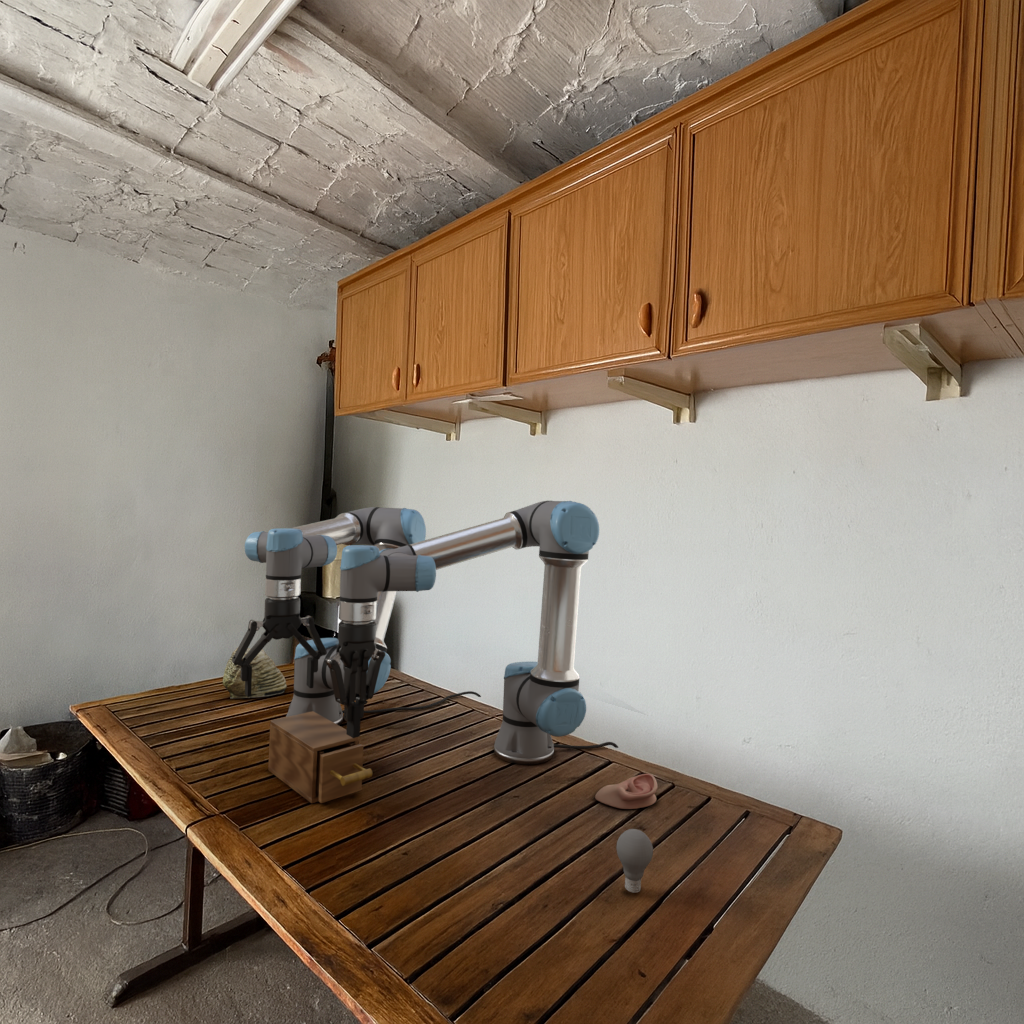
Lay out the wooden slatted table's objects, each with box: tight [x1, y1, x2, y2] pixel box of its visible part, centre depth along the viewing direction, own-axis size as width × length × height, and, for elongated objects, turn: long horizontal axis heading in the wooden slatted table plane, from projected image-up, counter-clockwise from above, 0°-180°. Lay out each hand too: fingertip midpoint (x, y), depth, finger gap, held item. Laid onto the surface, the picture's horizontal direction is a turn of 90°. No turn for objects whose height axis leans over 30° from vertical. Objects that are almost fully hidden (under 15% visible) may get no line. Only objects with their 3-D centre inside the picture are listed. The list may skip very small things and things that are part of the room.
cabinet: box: [267, 711, 360, 804], centre depth 142 cm, size 21×11×12 cm, turn 45°
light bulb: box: [615, 828, 654, 894], centre depth 106 cm, size 6×6×10 cm
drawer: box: [316, 742, 373, 804], centre depth 137 cm, size 26×9×10 cm, turn 45°
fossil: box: [222, 647, 288, 699], centre depth 198 cm, size 9×18×15 cm, turn 132°
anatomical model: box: [594, 773, 658, 810], centre depth 139 cm, size 13×4×12 cm
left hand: (279, 690), depth 143 cm, fingers open, 13 cm apart
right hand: (353, 735), depth 130 cm, fingers closed
